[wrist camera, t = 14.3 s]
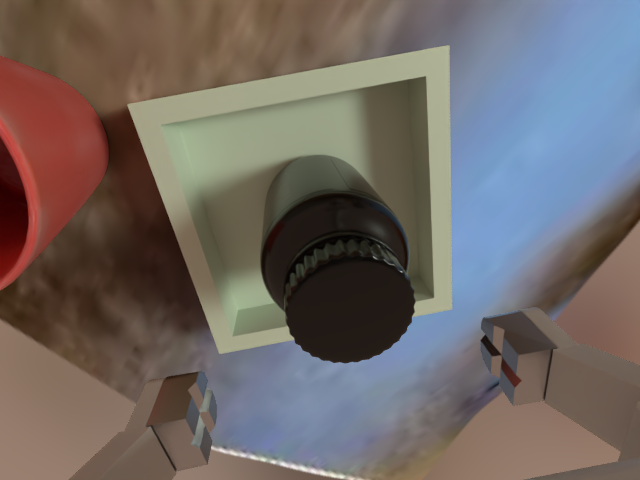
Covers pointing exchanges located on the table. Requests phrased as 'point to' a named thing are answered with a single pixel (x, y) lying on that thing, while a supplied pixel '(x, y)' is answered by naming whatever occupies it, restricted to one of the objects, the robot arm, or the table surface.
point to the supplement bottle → (335, 261)
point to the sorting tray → (287, 146)
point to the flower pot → (42, 161)
